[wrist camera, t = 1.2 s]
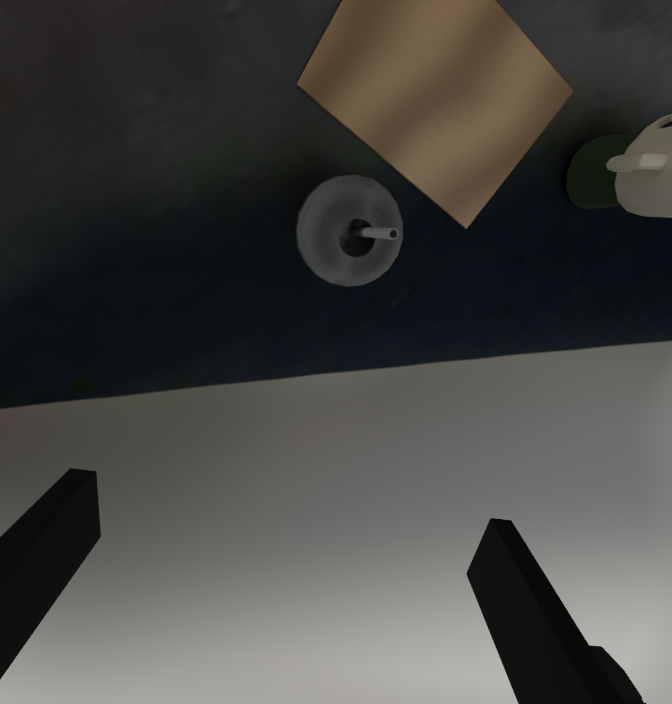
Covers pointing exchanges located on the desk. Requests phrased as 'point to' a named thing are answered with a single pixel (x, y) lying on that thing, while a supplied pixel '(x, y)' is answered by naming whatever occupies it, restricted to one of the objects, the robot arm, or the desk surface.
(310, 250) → the beverage cup
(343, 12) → the cork mat
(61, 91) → the desk surface
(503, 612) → the robot arm
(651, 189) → the character mug
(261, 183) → the desk surface
